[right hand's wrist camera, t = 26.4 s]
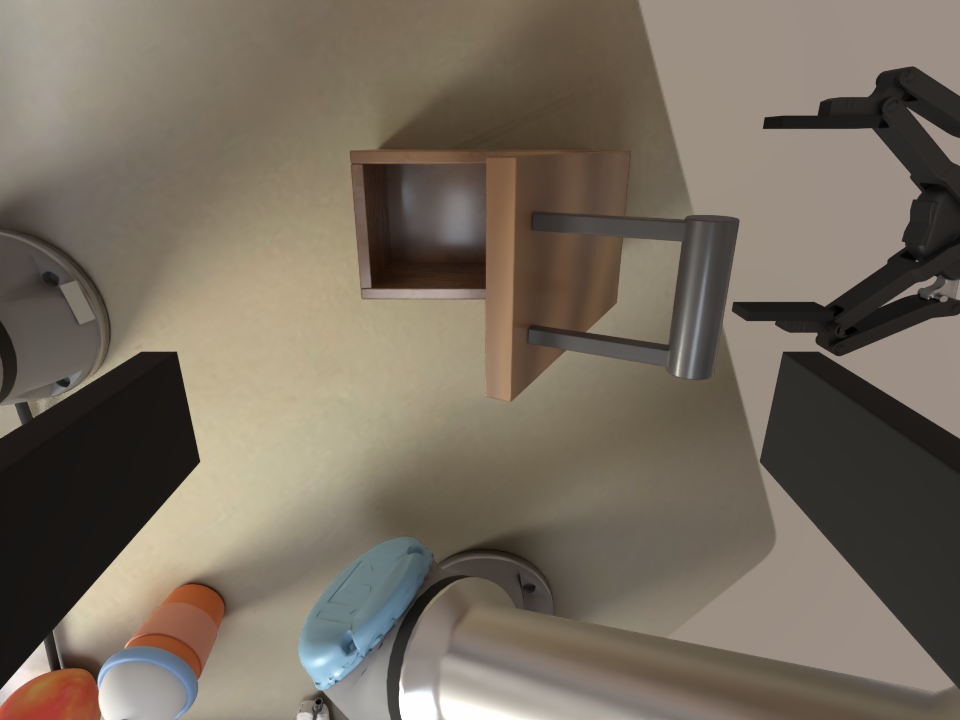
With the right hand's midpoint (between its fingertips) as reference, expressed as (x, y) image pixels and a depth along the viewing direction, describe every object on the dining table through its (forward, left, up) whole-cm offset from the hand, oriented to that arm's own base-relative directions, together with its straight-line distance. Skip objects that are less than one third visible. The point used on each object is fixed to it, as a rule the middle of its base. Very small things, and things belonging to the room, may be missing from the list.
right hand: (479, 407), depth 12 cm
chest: (0, 0, -37) cm, 37 cm away
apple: (-62, +38, -37) cm, 82 cm away
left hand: (+3, -20, -31) cm, 37 cm away
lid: (+1, -4, -19) cm, 19 cm away
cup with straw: (-48, +24, -37) cm, 65 cm away
